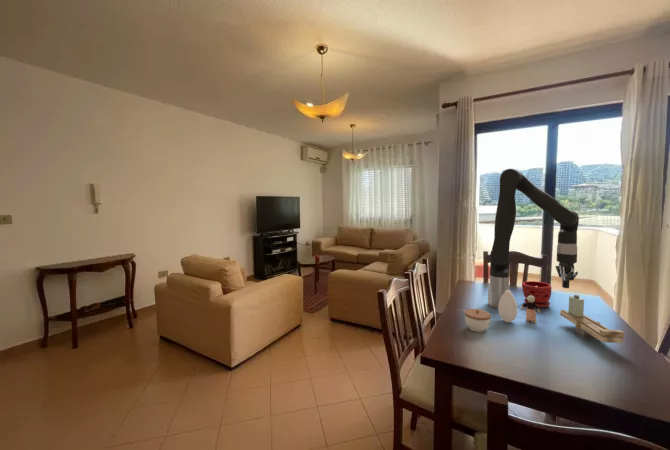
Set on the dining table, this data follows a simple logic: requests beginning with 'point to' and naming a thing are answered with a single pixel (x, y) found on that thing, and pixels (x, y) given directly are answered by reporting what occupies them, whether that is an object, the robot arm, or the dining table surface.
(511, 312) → the white teardrop vase
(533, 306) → the grandmother figurine
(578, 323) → the beam
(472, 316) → the lidded jar
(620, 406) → the dining table surface
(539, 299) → the plant pot
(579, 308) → the block
